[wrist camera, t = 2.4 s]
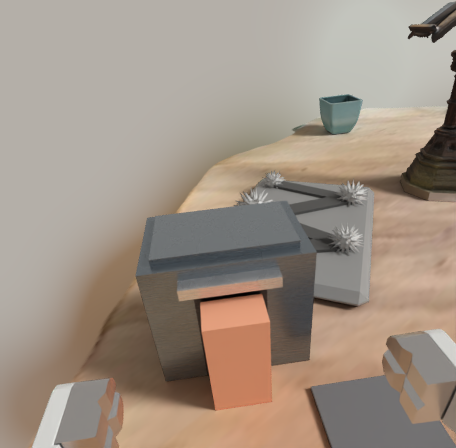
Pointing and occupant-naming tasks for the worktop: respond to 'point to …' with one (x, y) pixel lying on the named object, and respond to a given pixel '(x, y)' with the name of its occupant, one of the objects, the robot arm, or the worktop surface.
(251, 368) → the tall salmon pillar
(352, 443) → the coaster
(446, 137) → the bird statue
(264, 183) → the spiky succulent planter
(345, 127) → the flower pot
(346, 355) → the worktop surface
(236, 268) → the dispenser
